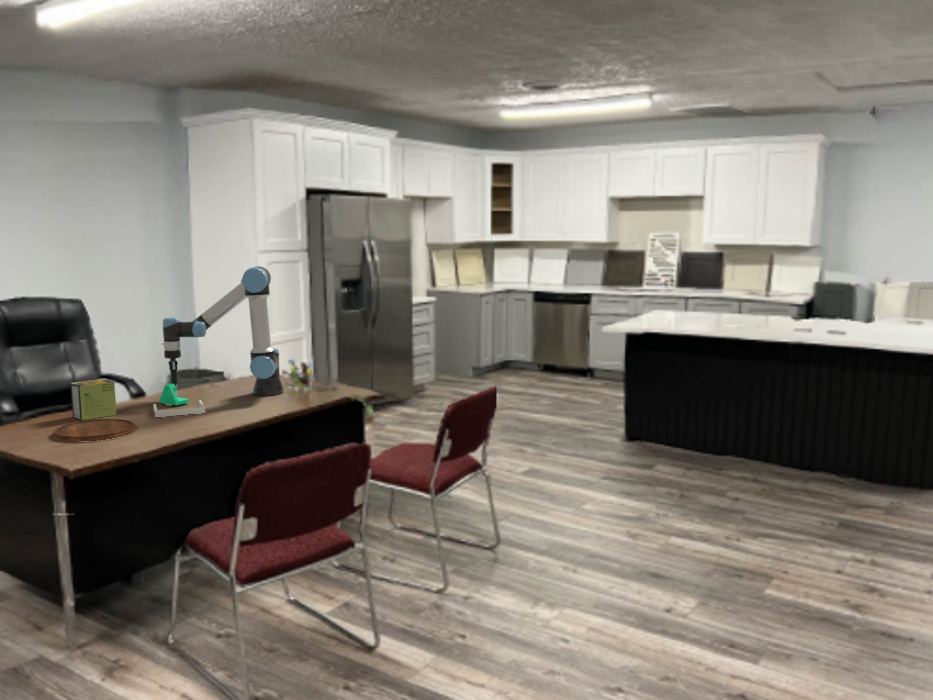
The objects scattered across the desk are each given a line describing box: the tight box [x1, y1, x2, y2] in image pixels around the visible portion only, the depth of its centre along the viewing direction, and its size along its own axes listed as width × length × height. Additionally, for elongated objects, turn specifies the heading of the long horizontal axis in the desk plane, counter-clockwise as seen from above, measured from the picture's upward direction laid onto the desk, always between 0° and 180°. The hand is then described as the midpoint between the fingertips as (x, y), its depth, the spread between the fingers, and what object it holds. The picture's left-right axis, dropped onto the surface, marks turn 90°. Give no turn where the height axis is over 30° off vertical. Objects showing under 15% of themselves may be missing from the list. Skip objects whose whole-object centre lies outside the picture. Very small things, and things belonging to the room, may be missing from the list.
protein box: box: [69, 378, 117, 421], centre depth 346 cm, size 10×15×16 cm
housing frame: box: [152, 399, 206, 418], centre depth 355 cm, size 21×16×3 cm
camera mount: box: [159, 383, 190, 406], centre depth 370 cm, size 12×8×10 cm, turn 58°
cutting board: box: [51, 418, 139, 443], centre depth 318 cm, size 32×32×2 cm
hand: (174, 397), depth 380 cm, fingers closed
